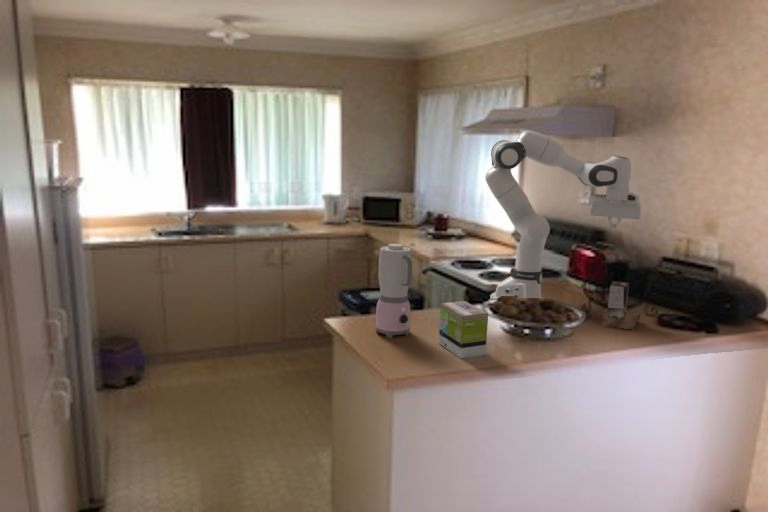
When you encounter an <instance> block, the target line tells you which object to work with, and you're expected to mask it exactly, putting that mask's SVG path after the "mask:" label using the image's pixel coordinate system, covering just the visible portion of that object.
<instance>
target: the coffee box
mask: <svg viewBox="0 0 768 512" xmlns="http://www.w3.org/2000/svg"><path fill="white" fill-rule="evenodd" d="M629 288H630V282H626V281H625V282H624V281H616V280H612V281H611V283H610V286H609V295H608V303H607V310H608V311H607V317H612V318H619V319H625V320H626V315H627V306H628V305H627V304H628V296H629Z"/></svg>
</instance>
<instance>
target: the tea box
mask: <svg viewBox="0 0 768 512" xmlns="http://www.w3.org/2000/svg"><path fill="white" fill-rule="evenodd" d="M488 321H489V313H488V312H487V311H485V310H483V309H481V308H479V307H477V306H475V305H473V304H471V303H469V302H467V301H465V300H462V301H452V302H451V301H450V302H445V303H443V302H440V306H439V326H438V327H439V330H438V331H439V332H438V344H439V345H441V346H443V347H444V348H446V350H448V351H449V352H450V353H452V354H453V355H455V356H456V357H458V358H459V359H467V358H474V356H475V357H480V356H486V353H487V352H486V351H487V337H488V324H489V323H488Z"/></svg>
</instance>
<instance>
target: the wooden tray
mask: <svg viewBox="0 0 768 512" xmlns="http://www.w3.org/2000/svg"><path fill="white" fill-rule="evenodd" d="M607 311H608V308H603V311H602V321H601V326H602V325H604V326H603V327H607V326H611V327H610V328H614V327H618V328H617V329H620V328H625V329H624V330H626V329H632V330H631V331H633V330H634V331H635V328H634V327H636V324H637V323H636V322H639V323H640V318H641V314H640V313H634V314H633V315H632V318H631V320H630V319H626V318H625V319H619V318H612V317H607Z"/></svg>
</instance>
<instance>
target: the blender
mask: <svg viewBox="0 0 768 512" xmlns="http://www.w3.org/2000/svg"><path fill="white" fill-rule="evenodd" d="M412 276H413V261H412V250H411V248H410V247H406V246H404V245H403V244H401V243H389V244H388V245H387V246H383V247H380V249H379V259H378V284H379V290H380V296H379V298H378V301H377V303H376V307H375V308H376V311H375V313H376V314H375V320H376V321H375V330H376V331H377V333H381V334H384V335H385V337H386V338H389V339H392V338H393V337H394V336H397V335H403V334H404V335H405V336H409V334H410V329H411V328H410V325H411V323H410V322H411V305H410V304H411V303H410V301H409V299H408V292H409V287H410V285H411V284H412V279H413V278H412Z"/></svg>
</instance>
